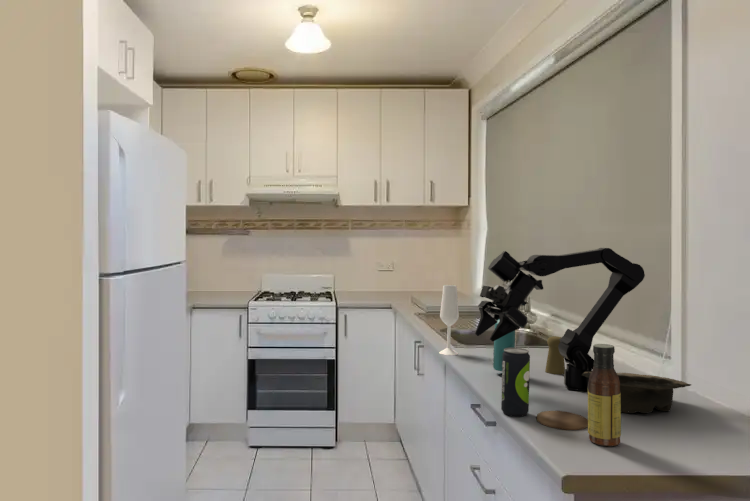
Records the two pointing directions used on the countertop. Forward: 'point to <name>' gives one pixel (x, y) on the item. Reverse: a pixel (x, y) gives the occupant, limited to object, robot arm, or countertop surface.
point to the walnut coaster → (562, 420)
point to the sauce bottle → (604, 398)
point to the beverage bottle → (502, 348)
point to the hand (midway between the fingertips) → (483, 337)
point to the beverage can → (515, 382)
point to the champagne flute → (449, 313)
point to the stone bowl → (645, 392)
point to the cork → (554, 357)
